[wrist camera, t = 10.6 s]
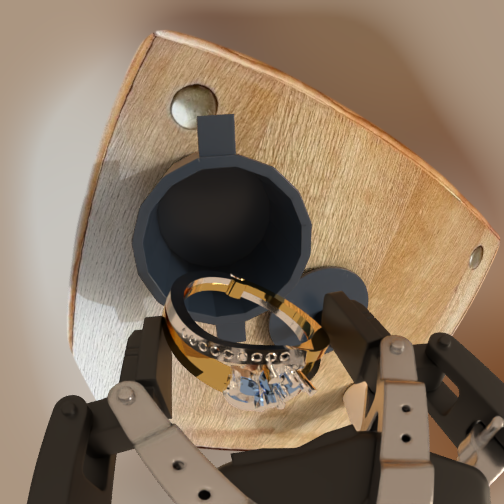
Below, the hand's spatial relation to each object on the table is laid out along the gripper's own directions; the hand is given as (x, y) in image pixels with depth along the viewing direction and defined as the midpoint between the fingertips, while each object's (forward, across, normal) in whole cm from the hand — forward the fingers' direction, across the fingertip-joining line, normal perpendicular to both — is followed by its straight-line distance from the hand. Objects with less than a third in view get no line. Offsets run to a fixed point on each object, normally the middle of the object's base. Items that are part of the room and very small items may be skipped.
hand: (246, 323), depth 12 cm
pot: (+18, 0, 0) cm, 18 cm away
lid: (+17, -12, +14) cm, 25 cm away
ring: (+4, 0, 0) cm, 4 cm away
